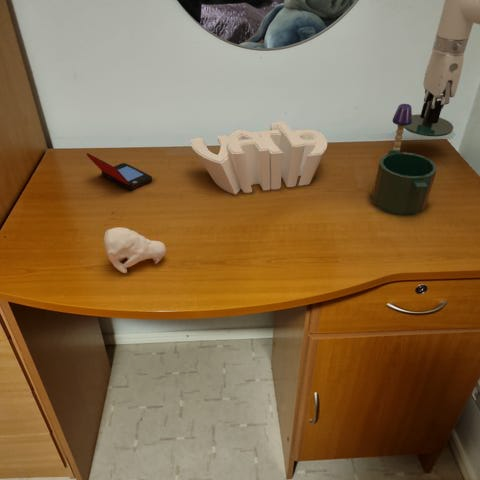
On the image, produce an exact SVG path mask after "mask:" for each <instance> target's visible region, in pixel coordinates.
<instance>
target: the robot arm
mask: <svg viewBox="0 0 480 480" xmlns="http://www.w3.org/2000/svg"><path fill="white" fill-rule="evenodd" d="M442 7H443V8H442V10H441V16H440V18H439V21H438V22H439V23H438V26H437V31H436V34H435V37H434V42H433V45H432V49H431V50H432V51H431V55H430V56H429V60H428V63H427V66H426V69H425V73H424V78H423V83H422V85H423V88H424V90H425V91H424V97H423V105H422V110H421V113H420V114H421V115H420V114H419V115H420V117H421V118H424V114H425V111H426V107H427V103H428V100H433V102H432V106H431V108H429V111H428V115H427V118H426V123H427V124H434V123H437V122H438V119H439V117H440V116H441V112H442V110H443V109H444V107H445V105H446V106H447V105H449V104H450V98H455V96H456V93H457V90H458V86H459V83H460V78H461V74H462V71H463V65H464V56H465V52H466V49H467V46H468V41H469V39H470V35H471V32H472V29H473V25H474V24H476V25H480V0H444V4H443V6H442Z"/></svg>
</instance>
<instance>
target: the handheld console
mask: <svg viewBox="0 0 480 480" xmlns="http://www.w3.org/2000/svg"><path fill="white" fill-rule="evenodd" d="M86 156H87V157H88V159H89V160H90V161H91V162H92V163H93V164H94V165H95V166H96V167H97V168H98V169H99V170H100V171H101V175H102V176H103V177H105V178H107V179H109V180H111V181H112V182H116V183H118V184H119V185H120V186H121V187H123V188H126V189H127V190H129V191H133V190H134V189H136V188H138V187H141V186H144V185H145V184H148V183H151V182H152V181H153V177H152V175H150V174H148V173H147V172H144V171H142V170H140V169H139V168H136V167H135V166H132V165H131V164H128V163H126V162H122V163H119V164H117V165H114V166H113V165H111V164H109V163H107V162H106V161H104V160H102V159H100V158H98V157H96V156H94V155H92V154H90V153H88V152H87V153H86Z"/></svg>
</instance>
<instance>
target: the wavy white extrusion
mask: <svg viewBox="0 0 480 480" xmlns="http://www.w3.org/2000/svg"><path fill="white" fill-rule="evenodd" d="M216 139H217V141H218V143H219V146H220V149H219V152H218V154H216V153H214V152H211V150H209V148H208V145H207V144H206V142H205V140H204V139H203V137H197V138H196V137H195V138H191V139H190V146H191V148H192V150H193V151H194V152H195V154H196V156H197V157H198V160H200V162H201V163H202V165H203V167H204V168H205V169H206V171H207V173H208V174H209V176H210V177H211V179H212V180H213V182H214V183H215V184H216V185H217V186H218V187H219V188H221V189H222V190H224V191H225V192H228V193H229V194H232V195H237V194H238V193H239V192H240V191H242V192H243V193H244V194H250V193H252V192H253V188H252V185H259V186H260V187H261V190H262V191H270V190H280V189H281V186H282V180H283V182H284V184H285V186H286V188H294V187H296V186H298V187H300V186H307V185H310V183H311V181H312V180H313V178H314V176H315V174H316V171H317V169H318V168H319V166H320V163H321V161H322V159H323V156H324V154H325V152H326V150H327V148H328V140H327V138H326V136H325V135H324V134H323V133H321V132H319V131H317V130H314V129H297V130H292V129H291V128H290V127H289V126H288V124H286V123H285V122H284V121H277V122H273V123H271V124H270V125H269V130H259V131H249V130H244V129H240V128H239V129H237V130H234V131H233V132H232V133H231V134H229V135H224V134H223V135H218V136H216ZM298 178H299V181H298Z"/></svg>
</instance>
